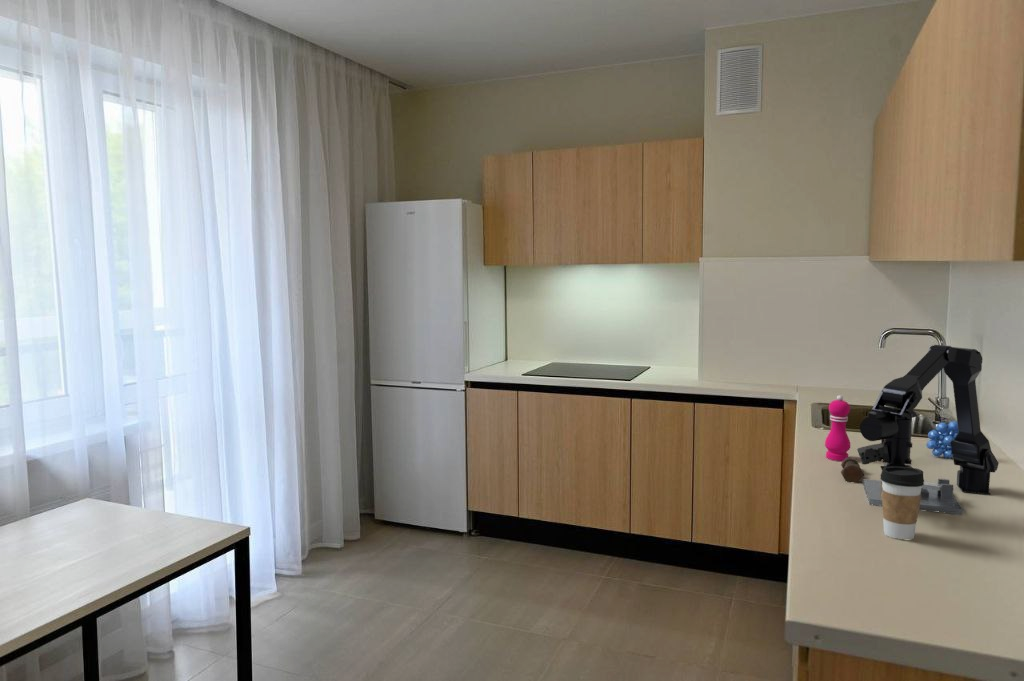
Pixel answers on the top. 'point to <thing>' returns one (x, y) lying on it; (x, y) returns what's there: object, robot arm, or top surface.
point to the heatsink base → (929, 497)
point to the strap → (932, 486)
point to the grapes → (942, 439)
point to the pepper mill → (838, 430)
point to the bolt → (851, 470)
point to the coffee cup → (901, 500)
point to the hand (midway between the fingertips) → (894, 498)
